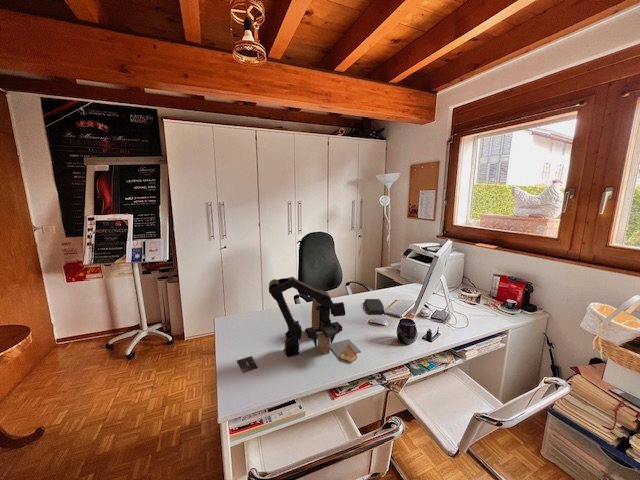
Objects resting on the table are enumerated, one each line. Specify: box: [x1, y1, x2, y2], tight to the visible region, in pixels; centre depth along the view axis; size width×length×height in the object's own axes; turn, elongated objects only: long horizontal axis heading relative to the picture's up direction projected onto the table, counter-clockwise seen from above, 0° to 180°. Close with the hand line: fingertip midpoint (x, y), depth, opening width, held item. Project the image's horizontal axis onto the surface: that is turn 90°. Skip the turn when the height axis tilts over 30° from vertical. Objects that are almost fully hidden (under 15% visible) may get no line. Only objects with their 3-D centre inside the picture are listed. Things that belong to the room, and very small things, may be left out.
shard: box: [340, 344, 358, 363], centre depth 130 cm, size 11×8×2 cm
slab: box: [317, 332, 331, 355], centre depth 134 cm, size 3×8×9 cm, turn 24°
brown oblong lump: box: [311, 298, 321, 336], centre depth 149 cm, size 11×8×20 cm
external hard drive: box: [363, 298, 387, 316], centre depth 183 cm, size 13×19×4 cm
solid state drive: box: [236, 355, 259, 374], centre depth 123 cm, size 7×10×1 cm
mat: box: [330, 338, 361, 359], centre depth 136 cm, size 13×12×1 cm
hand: (323, 344), depth 135 cm, fingers open, 8 cm apart
